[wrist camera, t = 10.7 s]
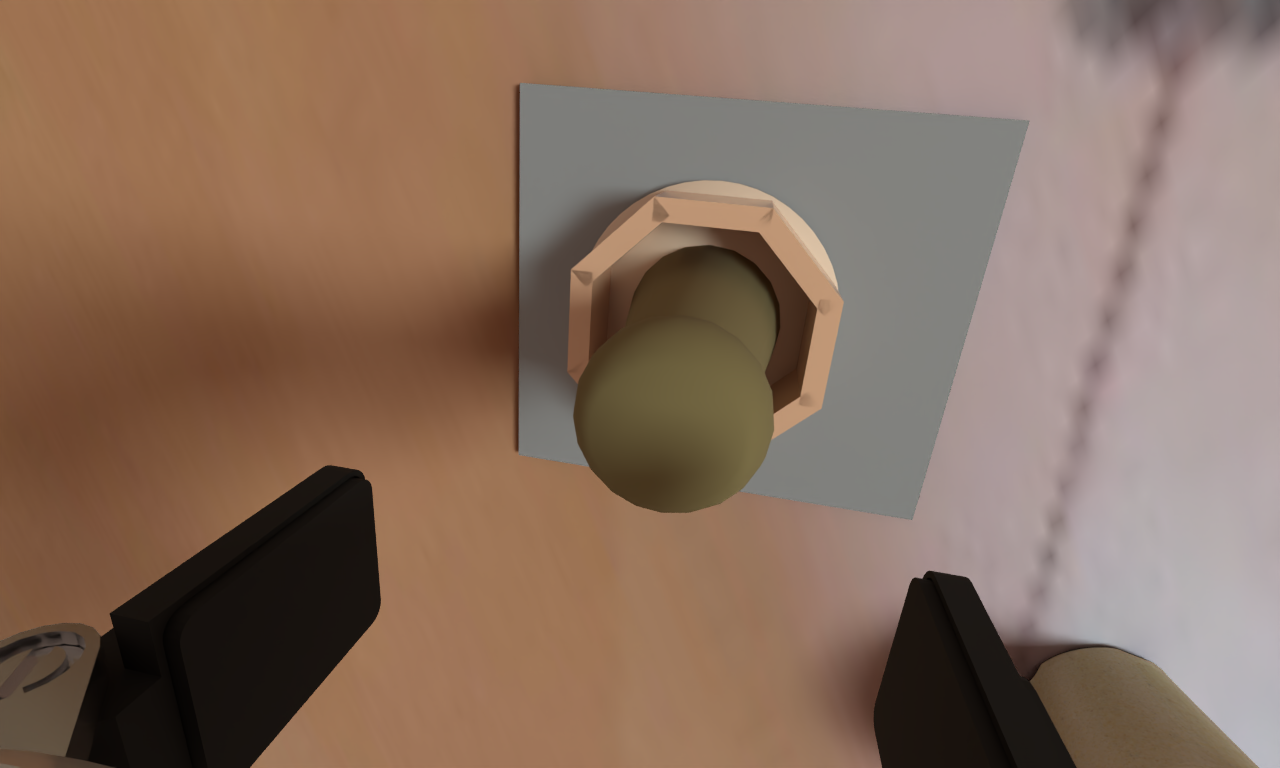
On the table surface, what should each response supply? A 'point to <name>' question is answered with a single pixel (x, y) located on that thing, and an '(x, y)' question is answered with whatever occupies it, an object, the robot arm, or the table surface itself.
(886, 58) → the table surface
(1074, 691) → the flower pot
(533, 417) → the felt mat
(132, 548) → the table surface
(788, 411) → the peach octagonal bowl
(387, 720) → the table surface
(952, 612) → the robot arm
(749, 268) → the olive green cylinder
